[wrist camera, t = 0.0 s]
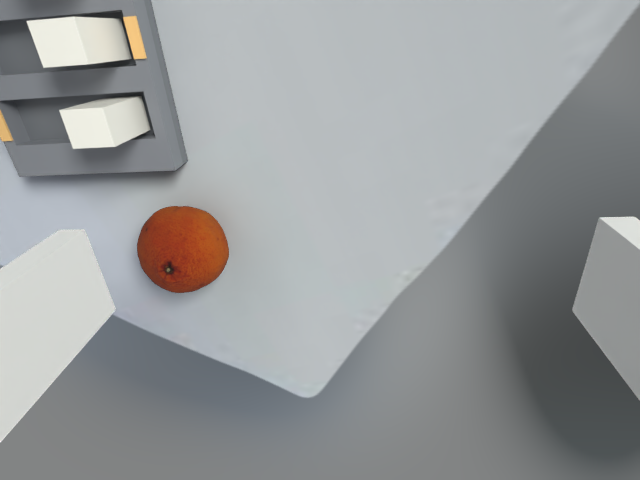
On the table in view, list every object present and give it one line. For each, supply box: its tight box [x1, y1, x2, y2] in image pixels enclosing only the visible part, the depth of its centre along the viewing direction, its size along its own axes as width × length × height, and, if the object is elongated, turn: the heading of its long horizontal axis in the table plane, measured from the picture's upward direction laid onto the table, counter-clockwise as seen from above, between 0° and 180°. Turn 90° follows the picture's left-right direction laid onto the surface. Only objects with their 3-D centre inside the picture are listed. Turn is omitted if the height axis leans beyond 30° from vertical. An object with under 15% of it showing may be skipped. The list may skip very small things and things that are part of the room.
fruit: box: [137, 206, 229, 293], centre depth 39 cm, size 9×9×8 cm
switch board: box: [0, 0, 188, 177], centre depth 33 cm, size 22×16×3 cm
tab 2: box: [59, 96, 150, 149], centre depth 33 cm, size 3×4×6 cm
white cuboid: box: [27, 17, 131, 68], centre depth 30 cm, size 3×4×6 cm
